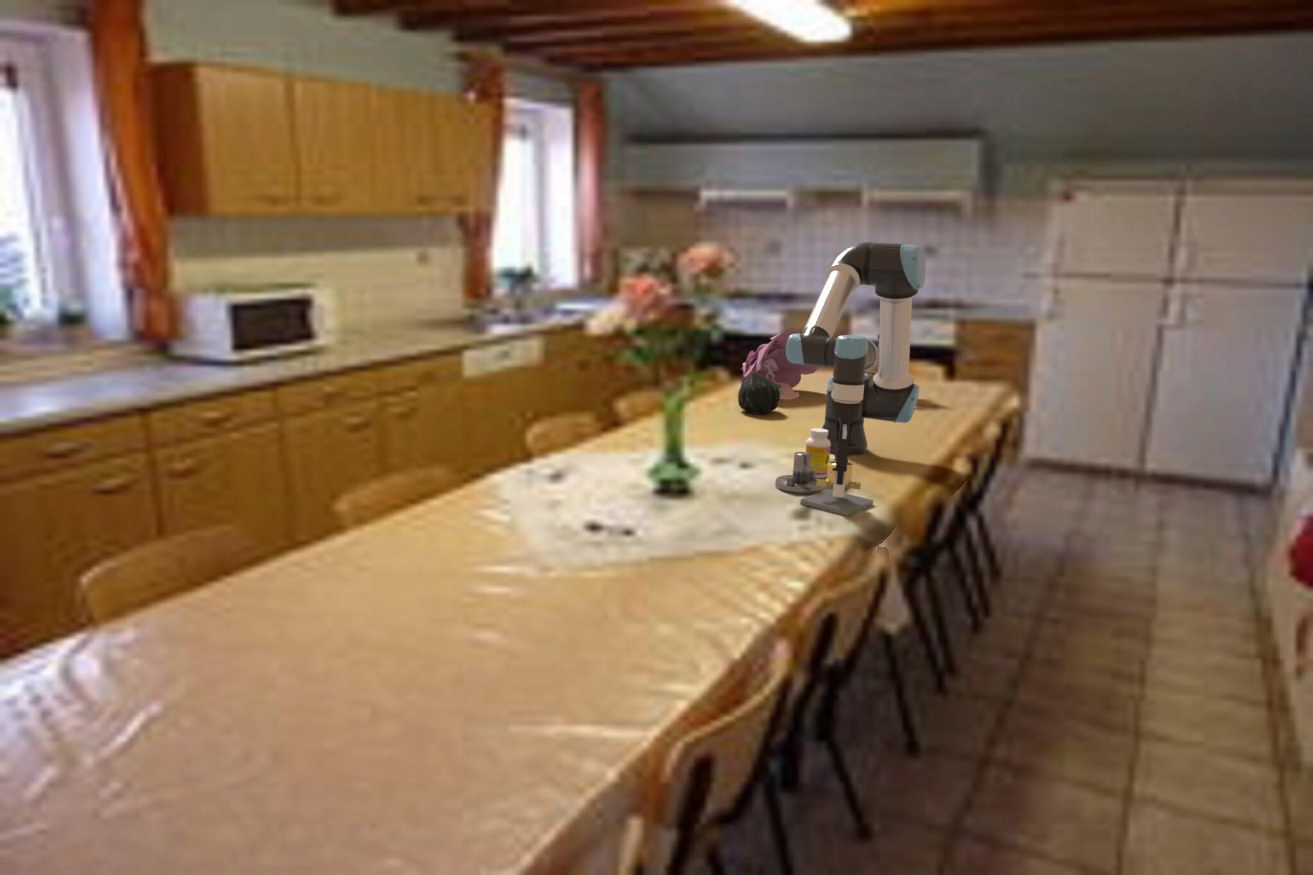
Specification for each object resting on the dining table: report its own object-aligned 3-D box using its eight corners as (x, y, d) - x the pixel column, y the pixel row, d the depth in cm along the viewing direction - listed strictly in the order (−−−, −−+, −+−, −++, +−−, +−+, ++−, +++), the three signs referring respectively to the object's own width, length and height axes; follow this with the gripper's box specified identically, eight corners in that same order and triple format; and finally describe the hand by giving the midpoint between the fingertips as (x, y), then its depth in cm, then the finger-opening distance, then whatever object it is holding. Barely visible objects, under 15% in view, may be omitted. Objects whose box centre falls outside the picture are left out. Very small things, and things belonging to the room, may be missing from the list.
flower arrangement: (777, 416, 354) (794, 346, 342) (722, 396, 364) (737, 327, 352) (813, 394, 382) (829, 328, 370) (761, 375, 392) (776, 311, 380)
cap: (859, 485, 234) (861, 461, 232) (860, 492, 228) (863, 467, 227) (816, 482, 235) (818, 458, 234) (816, 488, 230) (818, 464, 228)
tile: (826, 493, 242) (827, 488, 241) (872, 504, 234) (873, 500, 233) (800, 503, 232) (800, 499, 232) (847, 516, 224) (848, 511, 224)
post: (791, 477, 255) (794, 445, 253) (834, 487, 247) (837, 454, 245) (765, 486, 245) (768, 453, 243) (809, 498, 237) (812, 463, 235)
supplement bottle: (827, 480, 254) (831, 433, 251) (802, 477, 255) (806, 431, 252) (828, 473, 260) (832, 428, 257) (803, 471, 261) (807, 426, 258)
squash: (793, 398, 336) (769, 363, 338) (775, 406, 324) (750, 370, 326) (765, 419, 344) (742, 385, 346) (746, 427, 332) (722, 392, 334)
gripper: (830, 392, 236) (822, 480, 242) (831, 406, 218) (822, 502, 223) (860, 394, 235) (851, 483, 241) (864, 409, 217) (854, 505, 222)
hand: (837, 492), depth 232 cm, fingers closed on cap, 6 cm apart
